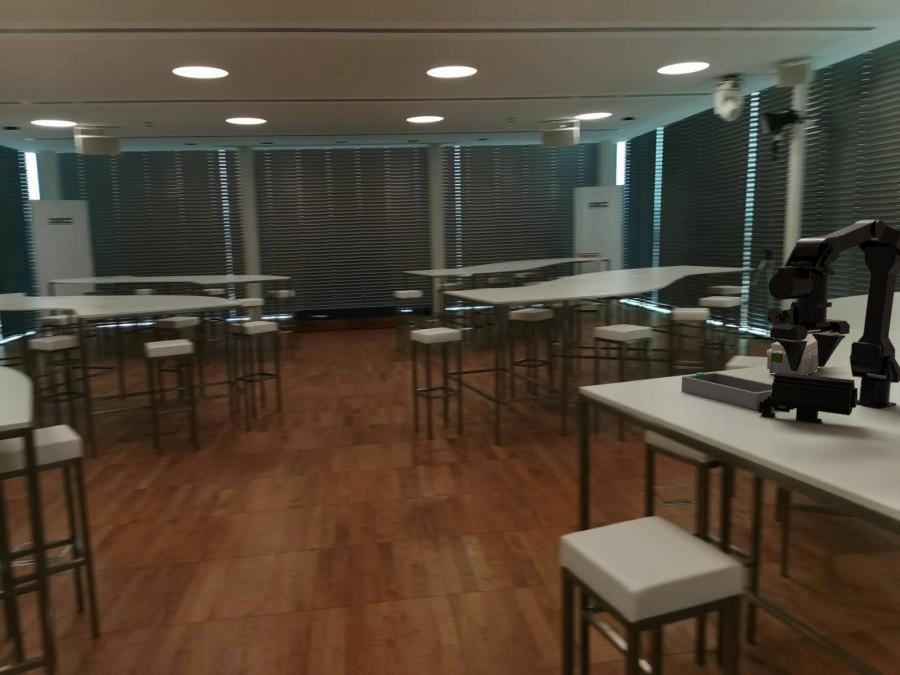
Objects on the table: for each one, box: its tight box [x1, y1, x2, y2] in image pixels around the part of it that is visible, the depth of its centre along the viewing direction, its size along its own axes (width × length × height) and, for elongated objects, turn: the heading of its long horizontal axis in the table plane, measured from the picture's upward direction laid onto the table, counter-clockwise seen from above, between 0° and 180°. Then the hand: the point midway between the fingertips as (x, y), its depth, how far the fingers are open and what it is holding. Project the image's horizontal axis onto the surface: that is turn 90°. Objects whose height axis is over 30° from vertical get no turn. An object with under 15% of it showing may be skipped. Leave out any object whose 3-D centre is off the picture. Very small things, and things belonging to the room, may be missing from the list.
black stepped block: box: [757, 372, 859, 425], centre depth 137 cm, size 7×18×10 cm, turn 51°
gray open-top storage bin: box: [681, 372, 772, 411], centre depth 159 cm, size 12×23×4 cm, turn 26°
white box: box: [766, 337, 820, 375], centre depth 187 cm, size 12×28×10 cm, turn 137°
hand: (807, 368), depth 135 cm, fingers open, 9 cm apart
